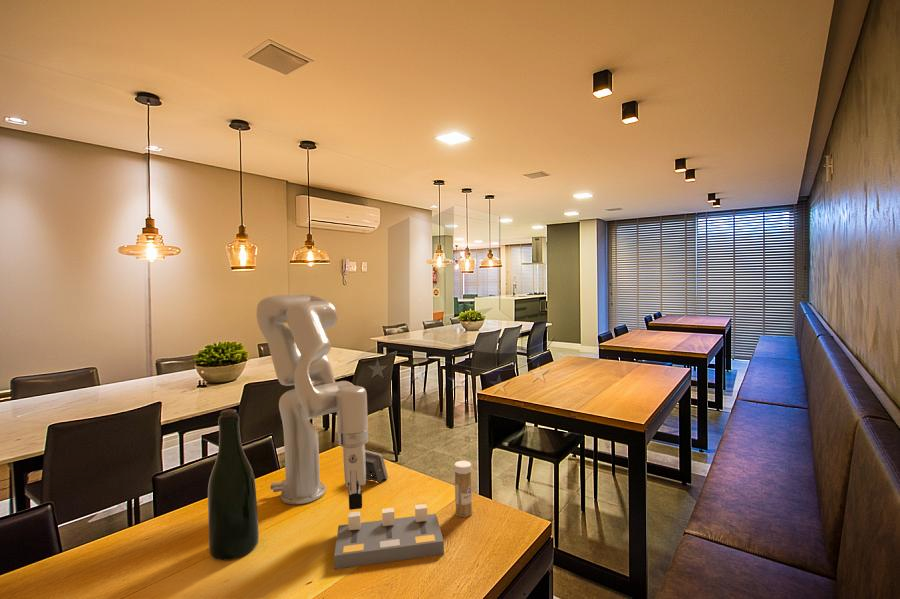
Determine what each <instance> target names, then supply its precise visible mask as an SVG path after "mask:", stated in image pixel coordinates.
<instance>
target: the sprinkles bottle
mask: <svg viewBox="0 0 900 599" xmlns="http://www.w3.org/2000/svg"><path fill="white" fill-rule="evenodd" d="M453 472H454V493H455V494H454V497H455V514H456V516H458V517H461V518H468V517H470V516H472V515H473V506H472V505H473V504H472V503H473V500H472V499H473V496H472V495H473V494H472V476H471V475H472V463H471V462H470V461H468V460H458V461H456V462H455V463H454V465H453Z"/></svg>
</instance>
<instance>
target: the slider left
mask: <svg viewBox="0 0 900 599" xmlns="http://www.w3.org/2000/svg"><path fill="white" fill-rule="evenodd" d="M361 519H362V517H361V511H354V512H353V511H352V512H348V514H347V520H348V521H347V522H348V523H347V524H348V527H349V530H357V529H361V523H362V521H361Z"/></svg>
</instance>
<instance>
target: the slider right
mask: <svg viewBox="0 0 900 599" xmlns="http://www.w3.org/2000/svg"><path fill="white" fill-rule="evenodd" d="M427 515H428V505H427V503H423V504H420V503H419V504H415V505H414V516H415V519H416V522H421V521H427Z"/></svg>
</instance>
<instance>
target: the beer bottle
mask: <svg viewBox="0 0 900 599" xmlns="http://www.w3.org/2000/svg"><path fill="white" fill-rule="evenodd" d="M237 412H238V411H237V409H235V408H228V409H224V410H221V411H220V416H219V417H218V421H217V423H218V433H219V434H218V435H219V436H218V449H217V455H216V459H215V463H214V465H213V467H212V470H211V473H210V477H209V480H208V487H207V514H208V515H207V519H208V520H207V522H208V527H207V528H208V548H209V554H210V556H211V558H213V559H214V560H219V561H229V560H235V559H238V558H241V557H244V556H245V555H247V554H248V553H250V552H252V551H253V550H254V549H255V548H256V547H257V545H258V543H259V541H260V540H259V539H260V538H259V534H260V532H259V516H258V501H257V486H256V480H255V479H256V478H255V474H254V471H253V468H252V466H251V463H250V462H249V460H248V458H247V456H246V454H245V451H244V449H243V445H242V440H241V432H240V416H239V413H237Z"/></svg>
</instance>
